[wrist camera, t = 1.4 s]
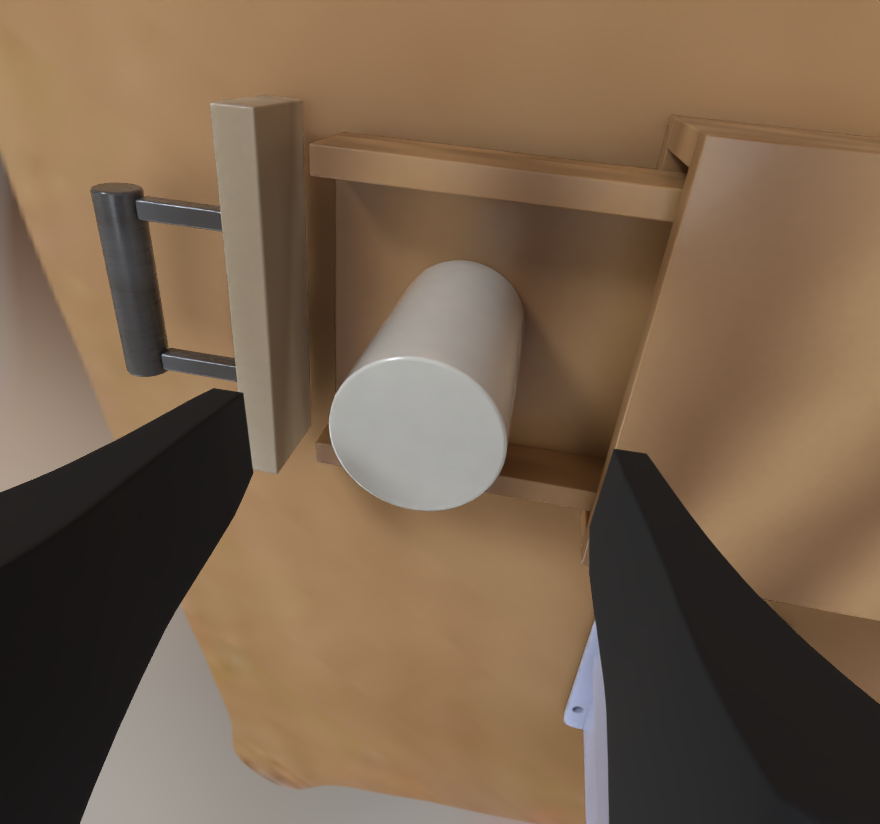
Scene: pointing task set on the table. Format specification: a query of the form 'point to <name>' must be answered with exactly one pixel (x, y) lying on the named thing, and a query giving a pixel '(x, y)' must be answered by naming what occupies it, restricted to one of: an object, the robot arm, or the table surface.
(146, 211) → the drawer
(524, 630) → the table surface
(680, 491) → the cabinet
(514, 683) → the table surface
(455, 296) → the spice jar
